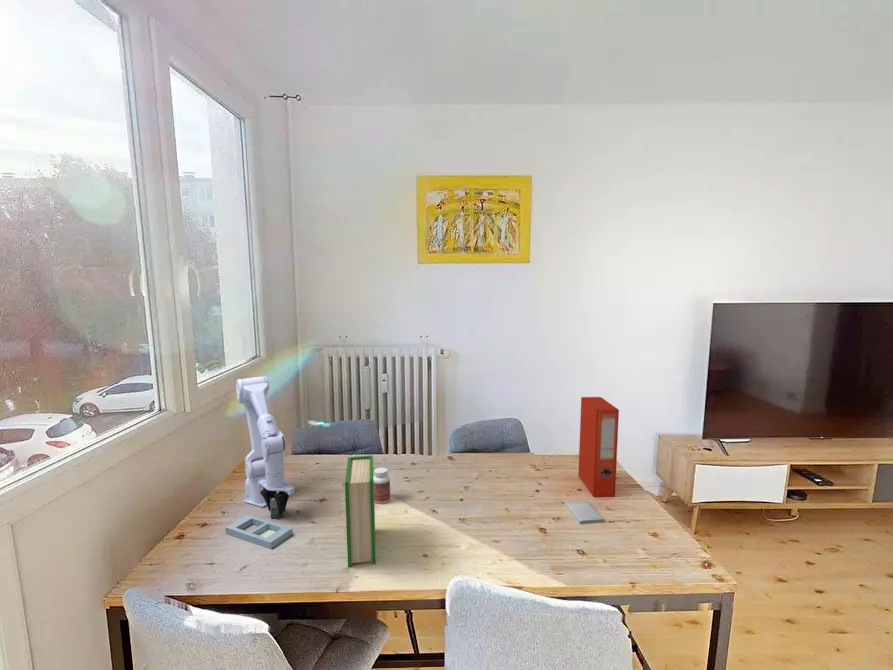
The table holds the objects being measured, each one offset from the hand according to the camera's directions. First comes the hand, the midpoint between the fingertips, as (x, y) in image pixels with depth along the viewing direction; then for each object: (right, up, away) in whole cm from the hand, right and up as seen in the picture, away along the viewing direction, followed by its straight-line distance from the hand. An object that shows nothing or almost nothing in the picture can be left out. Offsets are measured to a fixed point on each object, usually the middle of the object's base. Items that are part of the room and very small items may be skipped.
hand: (276, 510), depth 146 cm
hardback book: (+31, -4, -17) cm, 36 cm away
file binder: (+112, +1, +20) cm, 114 cm away
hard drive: (+101, -2, +1) cm, 101 cm away
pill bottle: (+33, -1, +11) cm, 35 cm away
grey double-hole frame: (-2, -3, -10) cm, 11 cm away
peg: (0, -2, 0) cm, 2 cm away
